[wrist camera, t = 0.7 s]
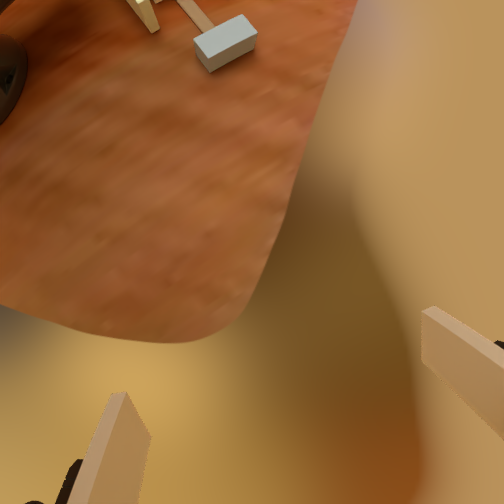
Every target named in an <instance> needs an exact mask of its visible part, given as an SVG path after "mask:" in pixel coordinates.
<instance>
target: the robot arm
mask: <svg viewBox="0 0 504 504" xmlns="http://www.w3.org/2000/svg"><path fill="white" fill-rule="evenodd" d="M14 1H15V0H0V14H1V13H2V12H3V11H4V10H5V9H6V8H7V7H8V6H9V5H10V4H12V3H13V2H14ZM26 73H27V54H26V51H25V49H24V47H23V45H22V44H21V43H20V42H19V41H17V40H16V39H14V38H12V37H11V36H8V35H4V34H0V124H1V123H2V122H3V121H4V120H5V119H6V117H7V116H8V115H9V113H10V112H11V110H12V109H13V107H14V105H15V104H16V102H17V100H18V98H19V96H20V93H21V91H22V88H23V85H24V82H25V78H26ZM421 315H422V316H421V317H422V360H421V361H422V362H423V363H424V364H425V365H426V366H427V367H428V368H429V369H430V370H431V371H432V372H434V373H435V374H436V375H437V376H438V377H439V378H440V379H441V380H442V381H443V382H444V383H445V384H446V385H447V386H449V388H451V389H452V390H453V391H454V392H455V393H456V394H457V395H458V396H459V397H460V398H461V399H462V400H463V401H464V402H465V403H466V404H467V405H468V406H469V407H470V408H471V409H472V410H474V411H475V412H476V413H477V414H478V415H479V416H480V417H481V418H482V419H483V420H484V421H485V422H486V423H487V424H488V425H489V426H490V427H491V428H492V429H493V430H494V431H495V432H496V433H497V434H498V435H499V436H500V437H501V438H502V439H503V440H504V342H501V341H498V340H497V341H496V342H494V343H493V342H491V341H490V340H488V339H487V338H485V337H484V336H482V335H481V334H479V333H477V332H476V331H474V330H473V329H471V328H470V327H468V326H466V325H465V324H463V323H462V322H460V321H459V320H457V319H455V318H453V317H452V316H450V315H449V314H447V313H446V312H444V311H442V310H441V309H439V308H438V307H436V306H432V307H430V308H428V309H425V310H423V311H422V312H421ZM150 440H151V435H150V434H149V432H148V430H147V429H146V427H145V425H144V423H143V421H142V420H141V418H140V416H139V414H138V412H137V411H136V409H135V407H134V405H133V404H132V401H131V399H130V398H129V396H128V394H127V392H121V393H115V394H111V396H110V398H109V401H108V403H107V405H106V407H105V409H104V412H103V414H102V416H101V419H100V421H99V424H98V426H97V428H96V431H95V433H94V436H93V438H92V440H91V443H90V445H89V448H88V450H87V452H86V455H85V457H84V459H77V460H76V461H75V463H74V464H73V465H72V466H71V467H70V468H69V471H68V473H67V475H66V480H64V482H63V485H62V486H63V488H61V490H60V493H59V495H58V498H57V500H56V503H55V504H138V501H139V496H140V491H141V485H142V480H143V475H144V470H145V464H146V459H147V454H148V449H149V445H150ZM25 504H43V503H41V502H39V501H30V502H27V503H25Z"/></svg>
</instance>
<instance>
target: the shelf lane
mask: <svg viewBox="0 0 504 504" xmlns="http://www.w3.org/2000/svg"><path fill="white" fill-rule="evenodd" d="M126 1H127V2H128V3H129V5H130V6H131V7H132V9H133V10H134V11H135V12H136V14H137V15H138V16H139V18H140V19H141V20H142V22H143V23H144V24H145V26H146V27H147V28H148V29H149V31H150V32H151V33H154V32H155V31H157V30H159V29H160V27H159V24H158V21H157V19H156V16H155V13H154V11H153V8H152V6H151V3H150V0H126Z"/></svg>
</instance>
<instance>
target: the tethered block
mask: <svg viewBox="0 0 504 504" xmlns="http://www.w3.org/2000/svg"><path fill="white" fill-rule="evenodd" d="M153 1H154V2H155V3H156V4H157V3H158V2H160V1H162V0H153ZM175 1H176V2H177V3H178V4H179V5H180V7H181V8H182V9H183V10H184V11H185V13H186V14H187V15H188V16H189V17H190V19H191V20H192V21H193V22H194V23H195V25H196V26H197V27H198V28H199V30H200V31H201V32H202V33H203V34H201V35H199V36H198V37H196V38H194V39H193V41H194V46H195V52H196V55H197V57H198V58H199V59H200V61H201V62H202V63H203V65H204V66H205V67H206V69H207V70H208V71H209V73H211V72H212V71H214V70H216V69H218V68H219V67H221V66H223V65H225V64H226V63H228V62H230V61H232V60H234V59H236V58H237V57H239V56H241V55H243V54H245V53H247V52H249V51H251V50H253V49H254V46H255V42H256V38H257V34H258V32H257V31H256V30H255V29H254V27H253V26H252V25H251V24H250V23H249V21H248V20H247V19H246V18H245V17H244V15H243V14H241V15H239V16H237V17H235V18H232V19H230V20H228V21H226V22H224V23H222V24H220V25H218V26H216V27H215V26H214V25H213V24H212V22H211V21H210V20H209V19H208V18H207V16H206V15H205V14H204V13H203V12H202V10H201V9H200V8H199V7H198V6H197V5H196V3H195V2H194V1H193V0H175Z"/></svg>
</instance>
